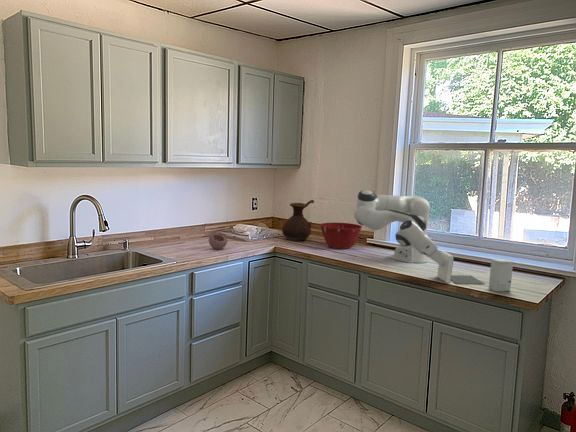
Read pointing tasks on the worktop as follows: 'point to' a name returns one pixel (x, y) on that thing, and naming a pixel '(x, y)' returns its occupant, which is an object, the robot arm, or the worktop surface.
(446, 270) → the tile
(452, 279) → the mat
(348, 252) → the worktop surface
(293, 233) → the jug
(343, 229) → the mixing bowl
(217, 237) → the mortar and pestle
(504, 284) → the skincare box
